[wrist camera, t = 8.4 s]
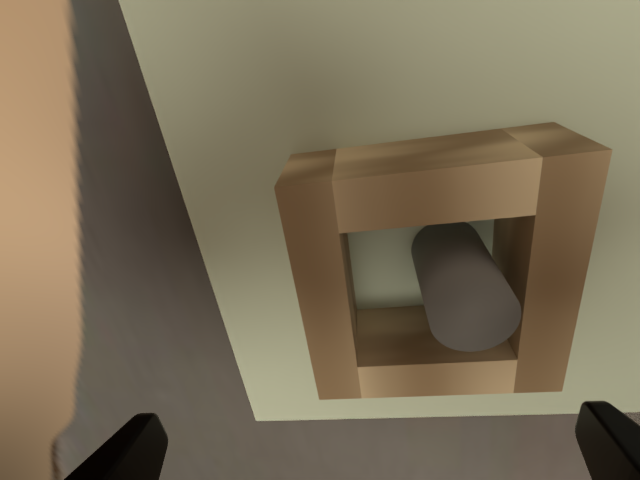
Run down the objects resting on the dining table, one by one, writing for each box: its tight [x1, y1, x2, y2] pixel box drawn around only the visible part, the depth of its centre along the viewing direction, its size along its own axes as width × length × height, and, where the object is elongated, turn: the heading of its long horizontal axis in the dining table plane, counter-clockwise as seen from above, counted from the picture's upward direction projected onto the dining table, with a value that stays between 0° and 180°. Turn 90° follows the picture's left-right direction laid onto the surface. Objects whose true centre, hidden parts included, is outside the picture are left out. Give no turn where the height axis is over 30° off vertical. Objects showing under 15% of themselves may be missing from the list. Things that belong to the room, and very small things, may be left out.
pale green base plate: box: [119, 0, 640, 421], centre depth 13 cm, size 18×18×5 cm
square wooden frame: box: [274, 122, 613, 400], centre depth 13 cm, size 8×8×3 cm
